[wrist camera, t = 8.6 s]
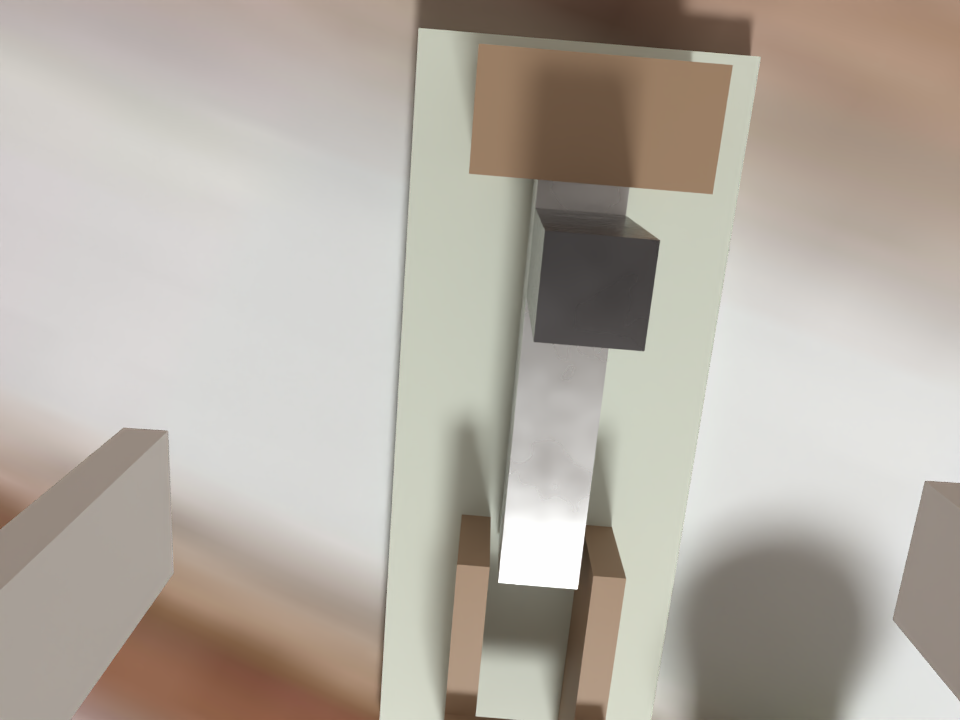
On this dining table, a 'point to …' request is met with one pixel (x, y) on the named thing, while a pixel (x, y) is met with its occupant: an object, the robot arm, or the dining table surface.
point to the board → (492, 360)
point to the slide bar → (567, 369)
